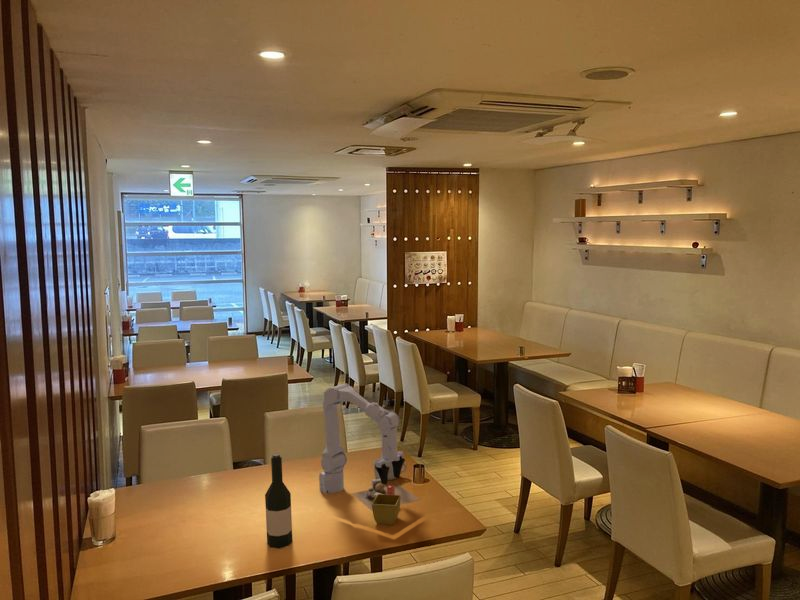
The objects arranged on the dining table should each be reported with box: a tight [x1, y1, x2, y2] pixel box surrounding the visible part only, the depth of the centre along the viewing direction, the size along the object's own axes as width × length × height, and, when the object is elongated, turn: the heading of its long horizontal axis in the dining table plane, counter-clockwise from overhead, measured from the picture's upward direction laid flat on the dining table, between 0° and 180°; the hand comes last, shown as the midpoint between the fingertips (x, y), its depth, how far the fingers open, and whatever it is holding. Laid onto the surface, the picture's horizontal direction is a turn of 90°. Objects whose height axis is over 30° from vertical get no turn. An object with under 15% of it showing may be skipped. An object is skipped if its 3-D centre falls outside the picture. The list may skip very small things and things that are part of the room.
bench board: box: [351, 483, 421, 512], centre depth 235 cm, size 20×19×1 cm
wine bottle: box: [264, 453, 293, 549], centre depth 201 cm, size 8×8×30 cm
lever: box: [366, 484, 395, 498], centre depth 232 cm, size 13×3×6 cm, turn 53°
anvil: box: [371, 478, 385, 491], centre depth 242 cm, size 4×2×4 cm, turn 108°
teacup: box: [373, 458, 408, 481], centre depth 255 cm, size 14×11×8 cm
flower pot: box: [371, 494, 401, 526], centre depth 213 cm, size 9×9×9 cm
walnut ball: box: [375, 483, 385, 493], centre depth 239 cm, size 4×4×4 cm
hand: (390, 480), depth 228 cm, fingers open, 7 cm apart
